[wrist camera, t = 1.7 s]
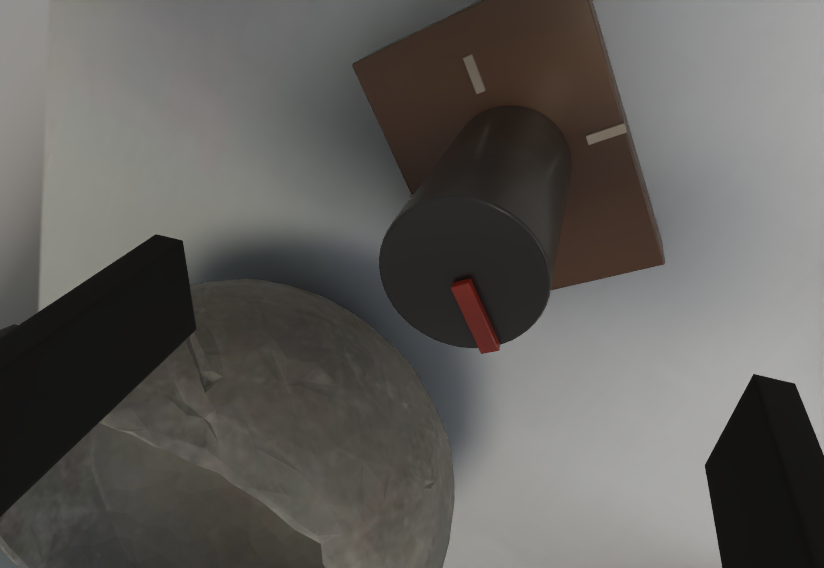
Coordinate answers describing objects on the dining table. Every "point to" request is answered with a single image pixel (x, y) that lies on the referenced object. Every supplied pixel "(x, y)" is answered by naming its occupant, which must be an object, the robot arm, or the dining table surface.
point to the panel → (534, 89)
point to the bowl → (253, 452)
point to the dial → (482, 232)
